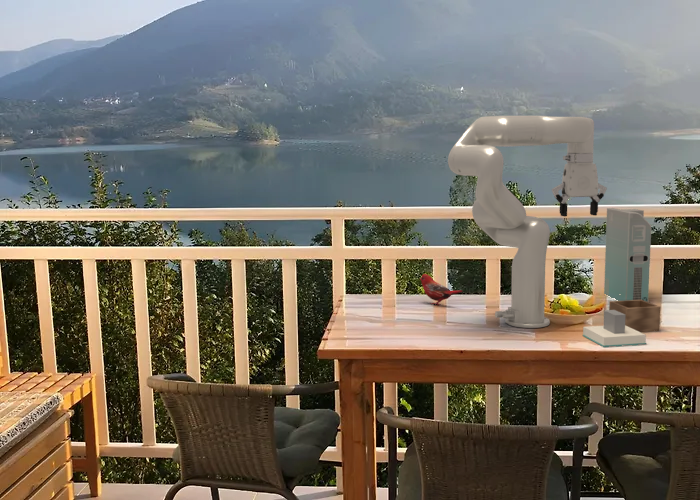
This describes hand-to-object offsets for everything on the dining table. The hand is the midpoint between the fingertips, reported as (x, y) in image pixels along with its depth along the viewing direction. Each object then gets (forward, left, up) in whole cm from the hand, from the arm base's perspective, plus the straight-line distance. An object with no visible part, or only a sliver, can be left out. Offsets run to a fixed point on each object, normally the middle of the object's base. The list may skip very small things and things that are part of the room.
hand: (578, 215), depth 239 cm
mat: (-5, -33, -30) cm, 45 cm away
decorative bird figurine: (-38, +19, -31) cm, 52 cm away
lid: (-5, -33, -30) cm, 45 cm away
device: (+25, +15, -31) cm, 42 cm away
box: (+7, -22, -30) cm, 38 cm away
